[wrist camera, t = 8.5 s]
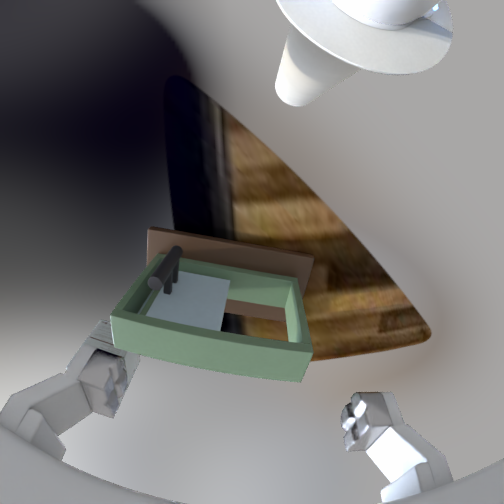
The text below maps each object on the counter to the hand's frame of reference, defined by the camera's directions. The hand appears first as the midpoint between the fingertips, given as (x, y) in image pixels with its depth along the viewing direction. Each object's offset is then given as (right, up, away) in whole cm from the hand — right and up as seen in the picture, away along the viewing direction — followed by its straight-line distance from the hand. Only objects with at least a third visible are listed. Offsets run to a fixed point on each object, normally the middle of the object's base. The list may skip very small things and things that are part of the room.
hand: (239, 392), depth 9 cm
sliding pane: (-6, +4, +25) cm, 26 cm away
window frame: (-3, +2, +29) cm, 29 cm away
